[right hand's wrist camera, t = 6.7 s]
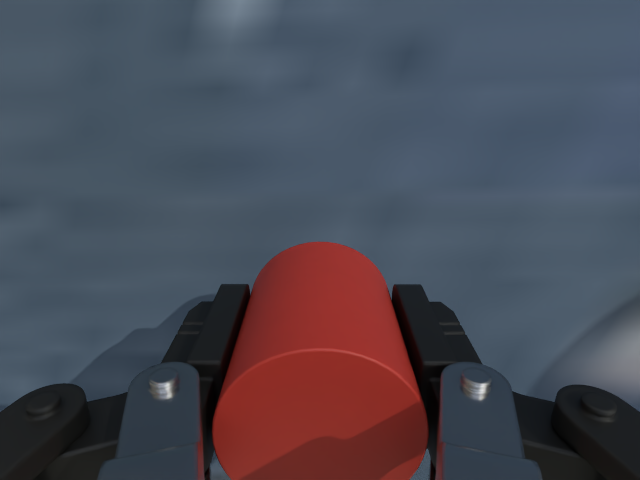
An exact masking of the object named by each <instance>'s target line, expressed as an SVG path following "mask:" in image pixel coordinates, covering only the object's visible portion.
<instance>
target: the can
mask: <svg viewBox="0 0 640 480" xmlns="http://www.w3.org/2000/svg"><path fill="white" fill-rule="evenodd" d="M428 437H429V424H428V418H427V413H426V410H425V407H424V404H423V400H422V397H421V394H420V391H419V387H418V384H417V381H416V378H415V375H414V371H413V368H412V365H411V362H410V358H409V355H408V352H407V349H406V346H405V342H404V339H403V336H402V333H401V329H400V326H399V323H398V320H397V317H396V313H395V310H394V307H393V304H392V300H391V297H390V294H389V291H388V288H387V285H386V282H385V280H384V278H383V276H382V274H381V272H380V271H379V270H378V268H377V267H376V266H375V265H374V264H373V263H372V262H371V261H370V260H369V259H368V258H367V257H365V256H364V255H363V254H361V253H359V252H358V251H356V250H354V249H352V248H349V247H347V246H344V245H340V244H337V243H330V242H310V243H304V244H300V245H297V246H294V247H291V248H289V249H287V250H285V251H283V252H281V253H279V254H278V255H276V256H275V257H274V258H272V259H271V260H270V261H269V262H268V263H267V264H266V265H265V266H264V268H263V269H262V270H261V272H260V273H259V275H258V276H257V278H256V281H255V283H254V286H253V289H252V292H251V295H250V298H249V302H248V305H247V308H246V311H245V315H244V318H243V321H242V324H241V328H240V331H239V334H238V337H237V341H236V344H235V347H234V350H233V354H232V357H231V360H230V363H229V367H228V370H227V373H226V376H225V380H224V383H223V386H222V389H221V393H220V396H219V399H218V402H217V406H216V409H215V413H214V416H213V422H212V441H213V445H214V449H215V453H216V456H217V458H218V460H219V463H220V464H221V466H222V468H223V469H224V471H225V473H226V474H227V475H228V476H229V477H230V479H231V480H409V479H410V478H411V477H412V476H413V474H414V473H415V472H416V470H417V469H418V467H419V465H420V463H421V461H422V460H423V457H424V454H425V451H426V448H427V443H428Z"/></svg>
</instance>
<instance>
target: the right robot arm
mask: <svg viewBox="0 0 640 480" xmlns="http://www.w3.org/2000/svg"><path fill="white" fill-rule="evenodd" d="M249 298H250V289H249V285H248V284H222V285H221V286H220V288H219V290H218V292H217V295H216V297H215V299H214V301H213V302H201V303H199V304H198V305H197V306H195V307H194V308H193V309H191V310H190V311H189V312H188V314H187V316H186V318H185V320H184V321H183V325H181V327H180V329H179V331H178V335H176V336H175V338H174V340H173V342H172V344H171V346H170V347H169V349H168V351H167V353H166V355H165V357H164V358H163V360H162V362H161V364H158V365H155V366H152V367H150V368H148V369H146V370H144V371H143V372H141V373H140V374H138V375H137V376H136V377H135V378H134V379H133V380H132V382H131V384H130V386H129V389H128V392H126V393H123V394H120V395H116V396H112V397H107V398H103V399H98V400H94V401H89V402H87V400H86V396H85V393H84V391H83V389H82V388H80V387H79V386H77V385H74V384H64V383H63V384H54V385H49V386H45V387H42V388H39V389H37V390H34V391H32V392H30V393H28V394H26V395H24V396H23V397H21V398H20V399H18V400H17V401H15V402H14V403H12V404H11V405H10V406H8V407H7V408H6V409H4V410H3V411H1V412H0V480H211V469H210V463H211V460H212V457H213V453H214V445H213V441H212V422H213V416H214V413H215V409H216V406H217V402H218V399H219V396H220V393H221V389H222V386H223V383H224V380H225V376H226V373H227V370H228V367H229V363H230V360H231V357H232V354H233V350H234V347H235V344H236V341H237V337H238V334H239V331H240V328H241V324H242V321H243V318H244V315H245V311H246V308H247V305H248V302H249ZM392 304H393V307H394V310H395V313H396V317H397V320H398V323H399V326H400V329H401V333H402V336H403V339H404V342H405V346H406V349H407V352H408V355H409V358H410V362H411V365H412V368H413V371H414V375H415V378H416V381H417V384H418V387H419V391H420V394H421V397H422V400H423V404H424V407H425V410H426V413H427V418H428V424H429V437H428V443H427V448H426V449H428V450H429V453H430V457H431V461H430V469H429V480H640V412H639V411H637V410H636V409H634V408H633V407H632V406H630V405H629V404H628V403H626V402H625V401H623V400H622V399H620V398H619V397H617V396H615V395H613V394H611V393H609V392H607V391H605V390H602V389H599V388H596V387H592V386H586V385H569V386H566V387H563V388H562V389H560V390H559V391H558V393H557V396H556V400H555V402H552V401H547V400H543V399H538V398H534V397H529V396H525V395H521V394H518V393H516V392H513V391H512V389H511V386H510V384H509V382H508V380H507V379H506V378H505V377H504V376H503V375H502V374H500V373H499V372H497V371H496V370H494V369H492V368H490V367H488V366H485V365H483V364H482V363H481V361H480V359H479V357H478V355H477V353H476V352H475V350H474V348H473V346H472V344H471V343H470V341H469V339H468V337H467V335H465V332H464V330H463V328H462V326H461V325H460V323H459V321H458V319H457V317H456V315H455V313H454V312H453V311H452V310H451V309H449V308H448V307H447V306H445V305H444V304H443V303H441V302H429V300H428V298H427V296H426V294H425V292H424V290H423V287H422V286H421V285H420V284H394V286H393V291H392Z"/></svg>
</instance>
